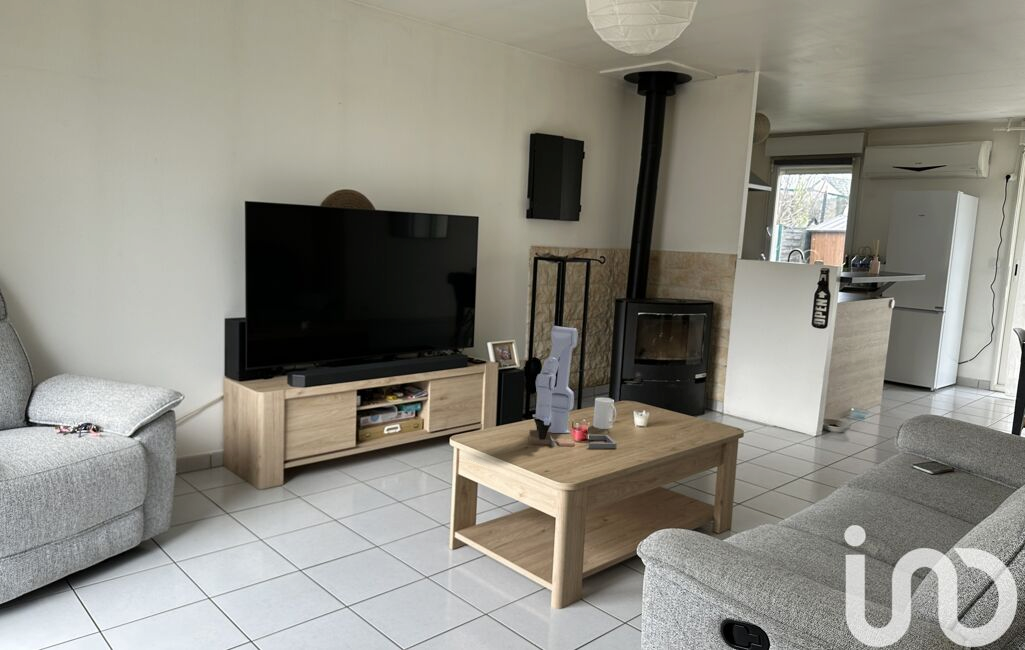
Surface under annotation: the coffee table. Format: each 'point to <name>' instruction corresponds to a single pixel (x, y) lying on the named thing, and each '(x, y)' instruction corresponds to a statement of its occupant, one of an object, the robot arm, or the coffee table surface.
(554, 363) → the robot arm
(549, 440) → the plank on grey base
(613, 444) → the frame
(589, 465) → the coffee table surface
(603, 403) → the mug
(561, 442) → the tile
